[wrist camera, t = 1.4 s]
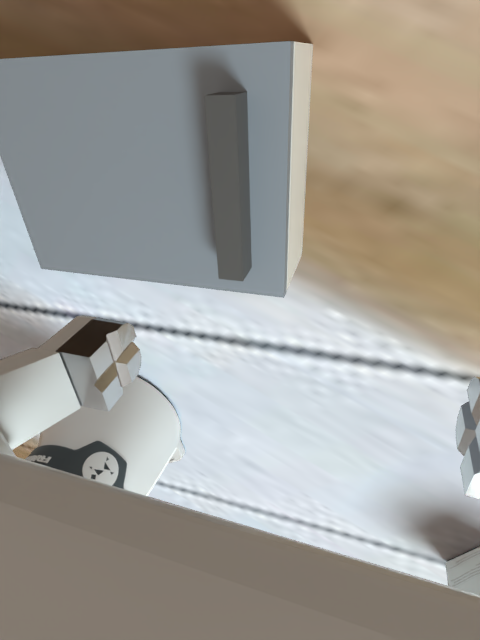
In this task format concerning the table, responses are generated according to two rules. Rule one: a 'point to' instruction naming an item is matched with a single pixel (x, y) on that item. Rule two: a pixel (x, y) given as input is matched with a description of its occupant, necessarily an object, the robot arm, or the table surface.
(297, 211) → the base
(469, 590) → the skincare box
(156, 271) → the grey flat rectangular panel
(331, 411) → the table surface
